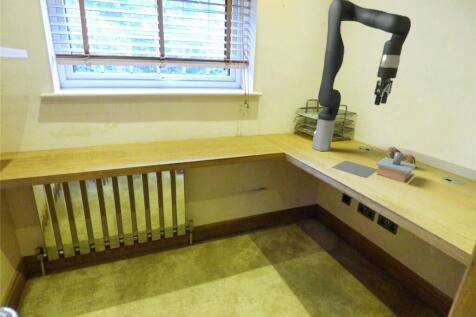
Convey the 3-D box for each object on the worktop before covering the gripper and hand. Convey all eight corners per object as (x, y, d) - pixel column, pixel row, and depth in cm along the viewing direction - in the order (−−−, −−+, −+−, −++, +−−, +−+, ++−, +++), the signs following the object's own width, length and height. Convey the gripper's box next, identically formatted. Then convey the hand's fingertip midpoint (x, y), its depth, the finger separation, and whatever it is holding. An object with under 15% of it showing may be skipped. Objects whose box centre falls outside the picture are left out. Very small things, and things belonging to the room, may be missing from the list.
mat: (331, 168, 133) (331, 167, 133) (345, 161, 144) (345, 160, 144) (365, 179, 123) (366, 178, 123) (378, 170, 134) (378, 169, 134)
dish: (376, 175, 128) (378, 165, 126) (384, 169, 136) (386, 159, 134) (403, 183, 121) (406, 172, 119) (409, 176, 129) (412, 166, 127)
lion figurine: (384, 164, 143) (388, 147, 140) (383, 161, 147) (387, 145, 144) (418, 170, 137) (423, 152, 134) (416, 167, 142) (421, 150, 139)
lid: (375, 164, 126) (378, 152, 124) (385, 158, 135) (387, 147, 133) (408, 173, 118) (411, 160, 116) (415, 166, 127) (419, 154, 125)
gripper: (384, 66, 131) (376, 102, 136) (373, 65, 121) (365, 104, 126) (402, 67, 126) (393, 104, 131) (392, 66, 116) (383, 106, 121)
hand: (380, 104), depth 129 cm, fingers open, 8 cm apart
